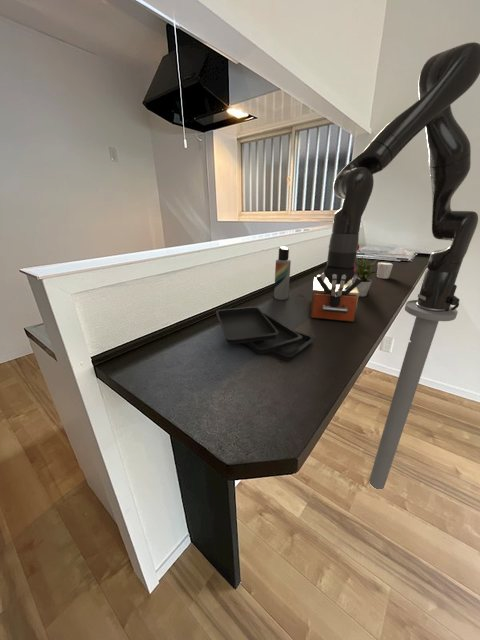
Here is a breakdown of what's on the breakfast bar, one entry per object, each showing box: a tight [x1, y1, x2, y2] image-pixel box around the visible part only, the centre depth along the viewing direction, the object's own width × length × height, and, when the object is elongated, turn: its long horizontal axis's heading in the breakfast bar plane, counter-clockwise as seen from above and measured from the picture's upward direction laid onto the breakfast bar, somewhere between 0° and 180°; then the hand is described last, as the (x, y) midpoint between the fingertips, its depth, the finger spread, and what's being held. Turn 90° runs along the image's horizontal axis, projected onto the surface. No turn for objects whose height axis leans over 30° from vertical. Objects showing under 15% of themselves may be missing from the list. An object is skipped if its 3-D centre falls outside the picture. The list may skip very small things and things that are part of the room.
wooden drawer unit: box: [312, 293, 357, 322], centre depth 87 cm, size 19×13×8 cm, turn 164°
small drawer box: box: [309, 276, 360, 323], centre depth 91 cm, size 16×14×10 cm
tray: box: [215, 306, 316, 362], centre depth 73 cm, size 30×23×5 cm
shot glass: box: [376, 261, 394, 280], centre depth 133 cm, size 7×7×7 cm
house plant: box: [354, 255, 383, 297], centre depth 107 cm, size 14×14×16 cm
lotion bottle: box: [273, 246, 292, 301], centre depth 103 cm, size 6×6×20 cm
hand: (334, 306), depth 81 cm, fingers closed
